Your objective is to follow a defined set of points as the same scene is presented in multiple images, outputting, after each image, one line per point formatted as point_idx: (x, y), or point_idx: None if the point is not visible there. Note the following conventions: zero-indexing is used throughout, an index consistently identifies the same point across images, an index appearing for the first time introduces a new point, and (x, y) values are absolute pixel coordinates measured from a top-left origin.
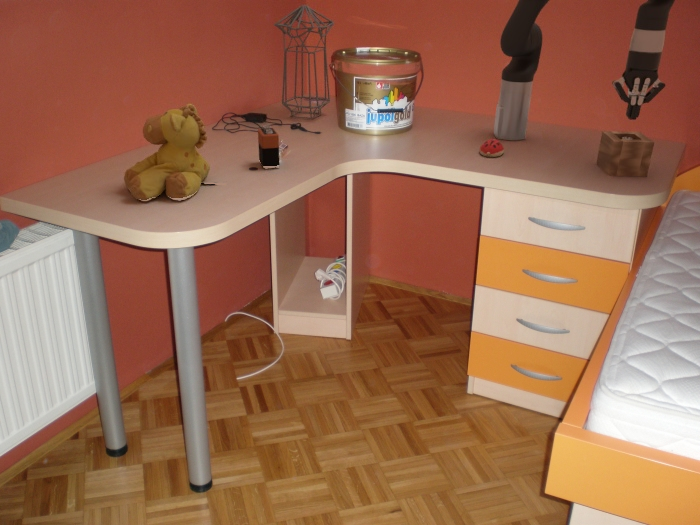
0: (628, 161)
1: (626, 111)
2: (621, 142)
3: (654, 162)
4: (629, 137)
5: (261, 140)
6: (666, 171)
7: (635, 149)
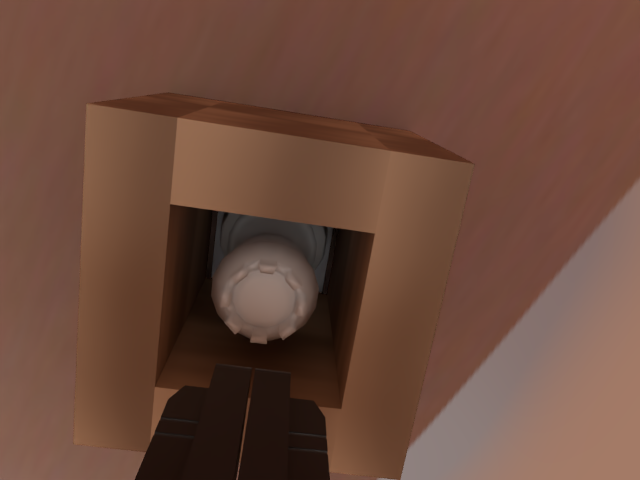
0: None
1: (159, 421)
2: (137, 444)
3: (579, 90)
4: (293, 286)
5: None
6: (535, 267)
7: None
